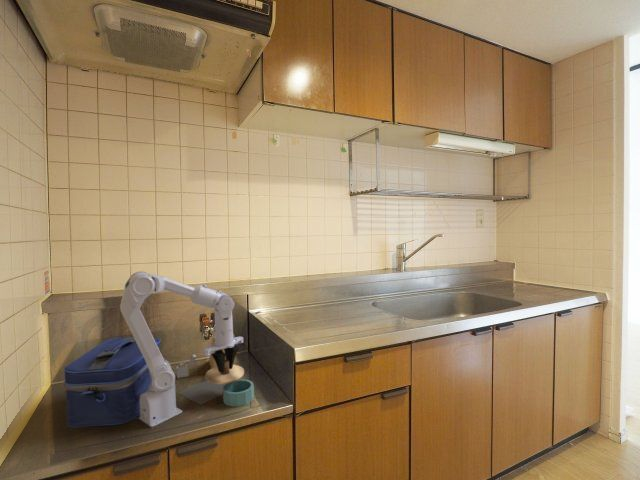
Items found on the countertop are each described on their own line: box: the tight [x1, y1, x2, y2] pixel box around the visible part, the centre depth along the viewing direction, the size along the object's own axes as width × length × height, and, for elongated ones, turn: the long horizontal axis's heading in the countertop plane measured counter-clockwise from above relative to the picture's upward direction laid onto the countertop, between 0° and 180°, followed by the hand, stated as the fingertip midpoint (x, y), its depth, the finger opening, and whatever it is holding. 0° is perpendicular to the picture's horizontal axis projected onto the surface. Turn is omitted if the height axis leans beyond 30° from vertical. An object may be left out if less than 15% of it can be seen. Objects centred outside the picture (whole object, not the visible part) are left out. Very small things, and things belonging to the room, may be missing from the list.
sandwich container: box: [208, 333, 236, 369], centre depth 137 cm, size 9×15×15 cm, turn 26°
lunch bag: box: [63, 337, 161, 428], centre depth 109 cm, size 31×21×20 cm
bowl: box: [222, 378, 255, 407], centre depth 111 cm, size 10×10×4 cm
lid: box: [205, 359, 245, 384], centre depth 113 cm, size 12×12×5 cm
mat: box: [178, 380, 225, 406], centre depth 116 cm, size 13×13×1 cm
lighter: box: [176, 353, 197, 379], centre depth 129 cm, size 7×2×8 cm, turn 114°
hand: (225, 369), depth 113 cm, fingers closed on lid, 3 cm apart
